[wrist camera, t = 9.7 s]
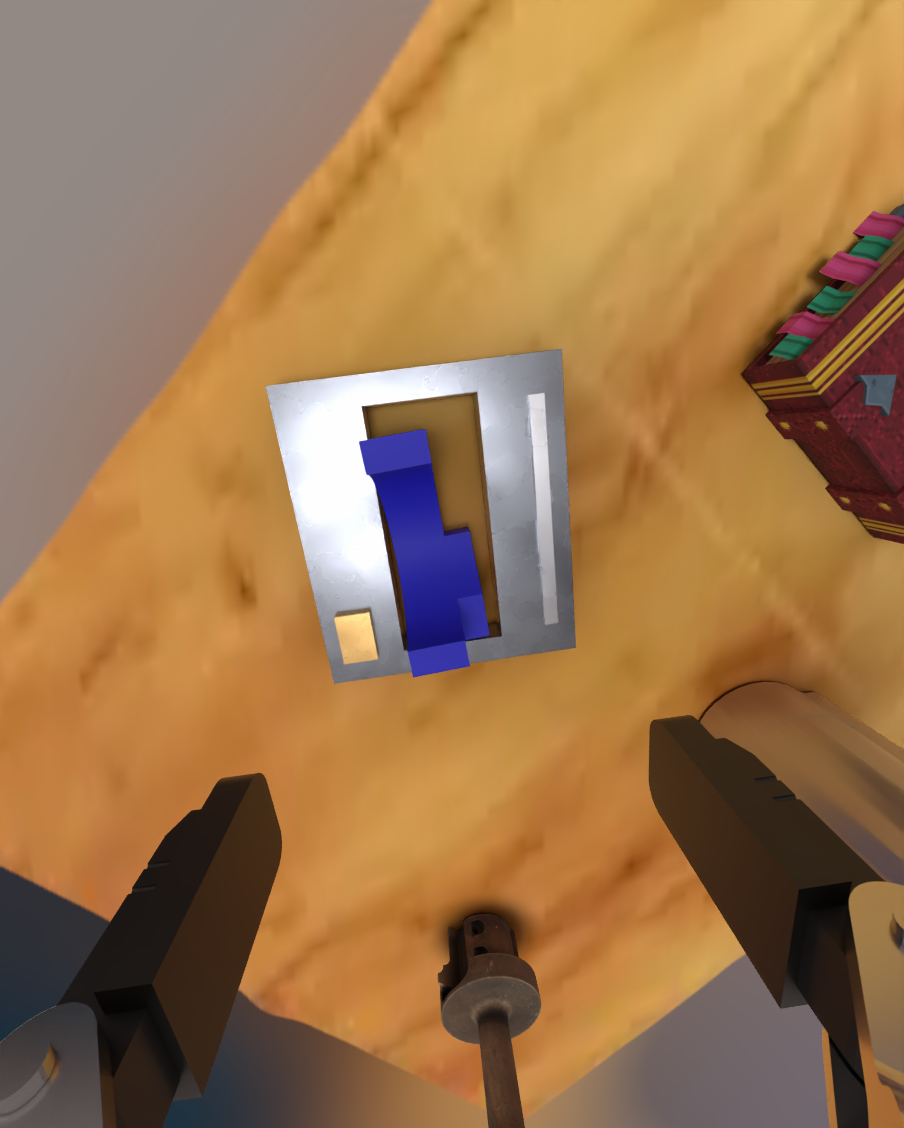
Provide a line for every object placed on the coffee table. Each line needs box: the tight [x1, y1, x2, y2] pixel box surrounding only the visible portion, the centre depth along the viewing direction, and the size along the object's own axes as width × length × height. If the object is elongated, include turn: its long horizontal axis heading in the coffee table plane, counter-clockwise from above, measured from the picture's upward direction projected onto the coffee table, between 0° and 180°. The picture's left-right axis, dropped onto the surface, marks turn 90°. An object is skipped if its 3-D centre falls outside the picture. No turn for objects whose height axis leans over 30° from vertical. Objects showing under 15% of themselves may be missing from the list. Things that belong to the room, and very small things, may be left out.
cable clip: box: [358, 429, 489, 677], centre depth 24 cm, size 12×4×6 cm, turn 10°
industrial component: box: [438, 914, 541, 1128], centre depth 31 cm, size 9×7×12 cm
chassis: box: [266, 349, 576, 684], centre depth 25 cm, size 15×17×3 cm
